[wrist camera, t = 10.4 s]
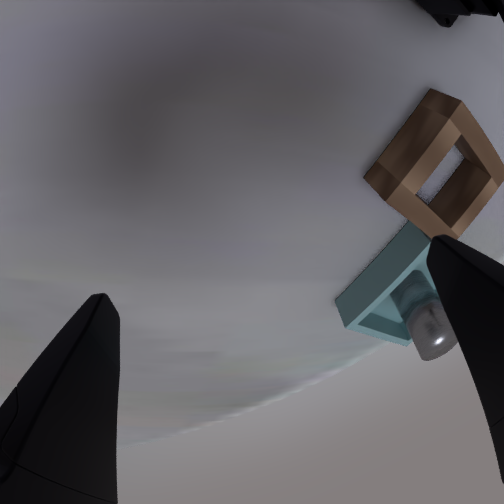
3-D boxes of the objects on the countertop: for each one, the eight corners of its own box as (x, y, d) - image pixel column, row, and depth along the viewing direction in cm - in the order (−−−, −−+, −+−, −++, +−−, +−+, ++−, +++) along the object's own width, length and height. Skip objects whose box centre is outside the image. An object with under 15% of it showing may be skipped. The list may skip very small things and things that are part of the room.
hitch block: (430, 88, 17) (461, 100, 14) (482, 155, 20) (508, 173, 17) (363, 177, 21) (385, 201, 18) (425, 226, 24) (446, 251, 21)
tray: (410, 218, 23) (430, 242, 21) (459, 260, 28) (475, 281, 25) (334, 301, 28) (345, 327, 26) (395, 324, 33) (406, 346, 30)
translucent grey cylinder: (410, 264, 26) (449, 326, 20) (431, 277, 27) (467, 334, 21) (381, 293, 28) (412, 357, 22) (404, 304, 29) (434, 362, 23)
